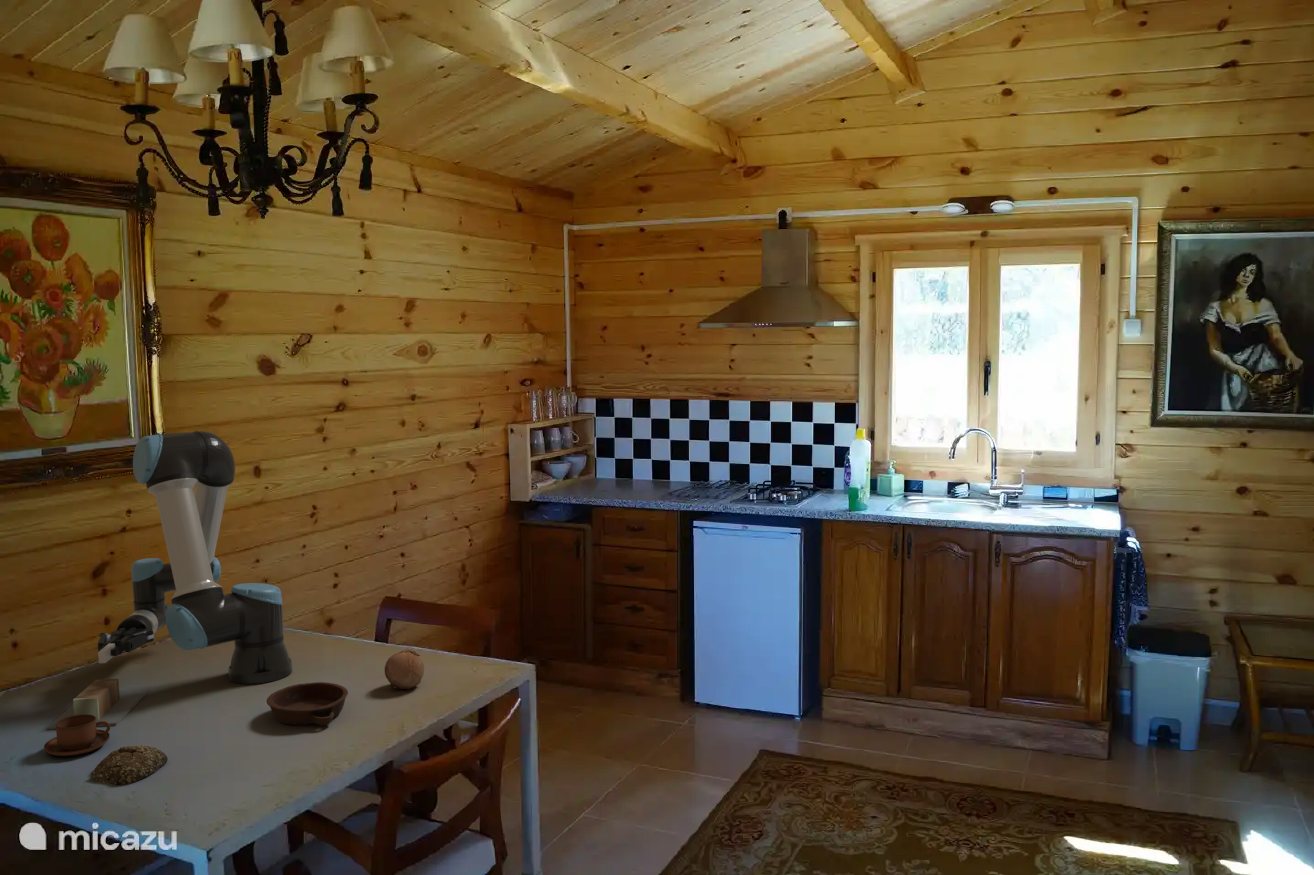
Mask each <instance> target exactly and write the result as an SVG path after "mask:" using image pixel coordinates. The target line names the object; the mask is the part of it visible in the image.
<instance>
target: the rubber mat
mask: <svg viewBox="0 0 1314 875" xmlns="http://www.w3.org/2000/svg"><path fill="white" fill-rule="evenodd" d="M152 689H153V685H143V686H142V685H141V686H122V687H120V686H119V696H120V699H119V700H118V701H117V702H116V703H115V704H114V705H113V706H112V707H111V708H110V709H109V710H108V711H107V712H106V713H105V714H104V715H103V716H102V717H101V718H100V719H99V720H96V722H99V721H106V722H108V723H109V724H110V727H113V726H117V725H118V724H119V723H120V722H121V721H122V720H123V719H124V718H125V717H126V716H127V715H128V714H129V713H130V712H131V711H132V710H133V708H135V707H136V706H137V705H138V703H140V701H141V700H142V699H143V698H145V696H146V695H147V694H148V693H149V692H150V691H151V690H152ZM71 716H74V706H73V704H72V705H71V706H70V707H68V708H67V710H66V711H64V712H63V713H61V715H60V716H59V717H57V718H56V719H55V720H54V721H53V722H52V723H51V724H50V725H49V726H48V727H47V729H48V730H56V723H57V722H58V721H60V720H62V719H64V718H67V717H71ZM97 727H107V726H106V725H105V724H100V725H98V726H97ZM97 727H96V728H97Z"/></svg>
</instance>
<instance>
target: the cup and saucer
mask: <svg viewBox="0 0 1314 875" xmlns="http://www.w3.org/2000/svg"><path fill="white" fill-rule="evenodd" d="M100 724H105V725H106V726H105V727H106V729H105V730H103V729H97V726H98V725H100ZM110 730H111V726H110V724H109V723H108V722H106V721H99V722H96V717H95V716H93V715H86V714H85V715H75V716H71V717H67V718H64V719H62V720H60V721H58V722H57V723H56V729H55V733H56V736H55V737H53V738H51V739H49V740H48V741H46V742H45V744H44V745H43V748H44V751H45V752H46V753H48V754H50V755H52V756H58V757H72V756H78V755H83V754H87V753H90V752H92V751H96V750H97V749H99V748H101V747H102V746H104V745H105V744H106V743H107V742H108V741H109V740H110V736H111V735H110V733H109V732H110Z"/></svg>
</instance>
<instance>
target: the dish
mask: <svg viewBox="0 0 1314 875" xmlns="http://www.w3.org/2000/svg"><path fill="white" fill-rule="evenodd" d="M348 695H349V691H348V689H347V688H346V687H345V686H343V685H340V684H337V683H334V682H333V683H332V682H324V681H322V682H321V681H319V682H318V681H316V682H315V681H314V682H306V683H298V684H293V685H289V686H287V687H283V688H281V689H277V691H274V692H273V693H271V694H270V695H269V696H268V697H267V698H266V705H268V706H269V707H270V709H271V712H272V714H273V717H274V718H275V719H276V721H278V722H280V723H283V724H284V725H285V724H287V725H294V726H295V725H297V726H298V725H300V726H301V725H313V724H314V725H316V726H317V725H318V726H326V725H328V724H331V723H332V722H333V720H334V718H335V717H337V716H338V715H339V714H340V713H341V712H342V711H343V708H344V705H345V701H346V698H347V697H348Z"/></svg>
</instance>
